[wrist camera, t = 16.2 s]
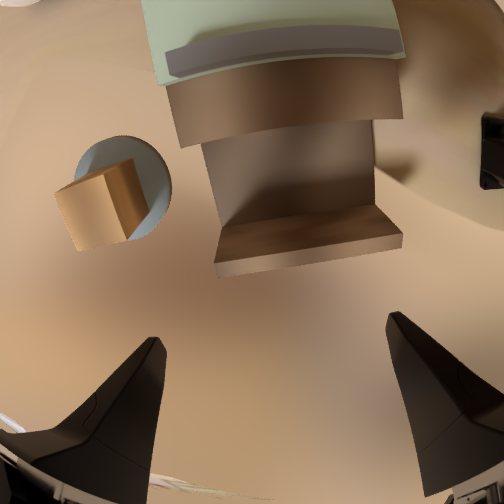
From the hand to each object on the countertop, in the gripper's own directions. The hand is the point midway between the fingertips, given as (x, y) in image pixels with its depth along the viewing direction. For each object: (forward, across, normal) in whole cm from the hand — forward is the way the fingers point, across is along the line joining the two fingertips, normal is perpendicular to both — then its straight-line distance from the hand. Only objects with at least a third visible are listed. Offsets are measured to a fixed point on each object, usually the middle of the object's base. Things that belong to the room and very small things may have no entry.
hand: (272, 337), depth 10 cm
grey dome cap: (+11, +10, -4) cm, 15 cm away
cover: (+6, -2, -13) cm, 15 cm away
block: (+10, +10, -4) cm, 14 cm away
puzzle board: (+11, -2, -8) cm, 14 cm away
